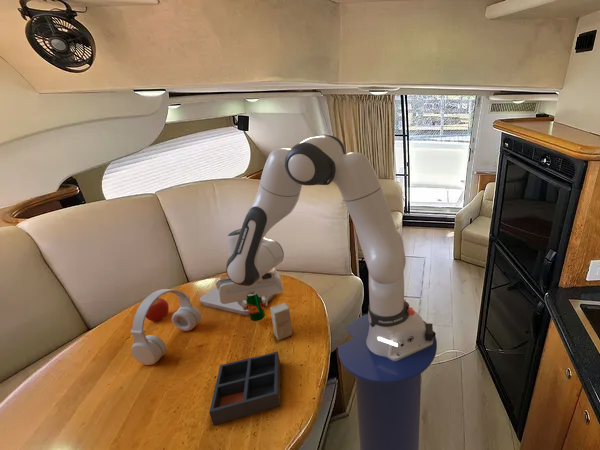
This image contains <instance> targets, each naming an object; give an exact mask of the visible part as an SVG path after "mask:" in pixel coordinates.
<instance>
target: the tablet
mask: <svg viewBox="0 0 600 450" xmlns="http://www.w3.org/2000/svg"><path fill="white" fill-rule="evenodd" d="M274 296H275V294H274V295H269V299H268V301H267V303H268V302H270V301H271V300H272V299H273V298H274ZM263 300H265V297H262V301H263ZM199 301H200V303H201V304H202V305H203V306H206V307H210V308H214V309H220V310H223V311H227V312H230V313H235V314H239V315H244V316H249V311H248V310H243V307H242V306H240V305H239V304H238V302H232V303H227V304H223V303H221V302H220V298H219V290H218V289H217V287H216V286H215V287H214V288H213V289H211V290H209V291H208V292H206V293H205V294H203V295H202V296H201V297H200V298H199ZM243 302H244V303H245V304H246V300H243Z"/></svg>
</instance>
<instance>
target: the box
mask: <svg viewBox="0 0 600 450" xmlns="http://www.w3.org/2000/svg"><path fill="white" fill-rule="evenodd" d="M269 308H270V309H269V310H270V315H271V321H272V328H273V334H274V336H275V338H276V339H277V340H278V341H281V340H284V339H285V338H288V337H290V336H292V335H293V327H292V319H291V312H290V307H289V306H288V304H287V303H286V302H282V303H279V304H276V305H274V306H271V307H269Z"/></svg>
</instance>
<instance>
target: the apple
mask: <svg viewBox="0 0 600 450" xmlns="http://www.w3.org/2000/svg"><path fill="white" fill-rule="evenodd" d="M169 309H170V307H169V303H168V301H167V300H165V299H164V298H161V297H158V298H157V299H156V300H155V301H154V302H153V304H152V305H151V307H150V308H149V310H148V312H147V314H146V317H145V319H147V320H148V321H151V322H154V321H160V320H163V319H164V318H165V317H166V316H168V314H169Z"/></svg>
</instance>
